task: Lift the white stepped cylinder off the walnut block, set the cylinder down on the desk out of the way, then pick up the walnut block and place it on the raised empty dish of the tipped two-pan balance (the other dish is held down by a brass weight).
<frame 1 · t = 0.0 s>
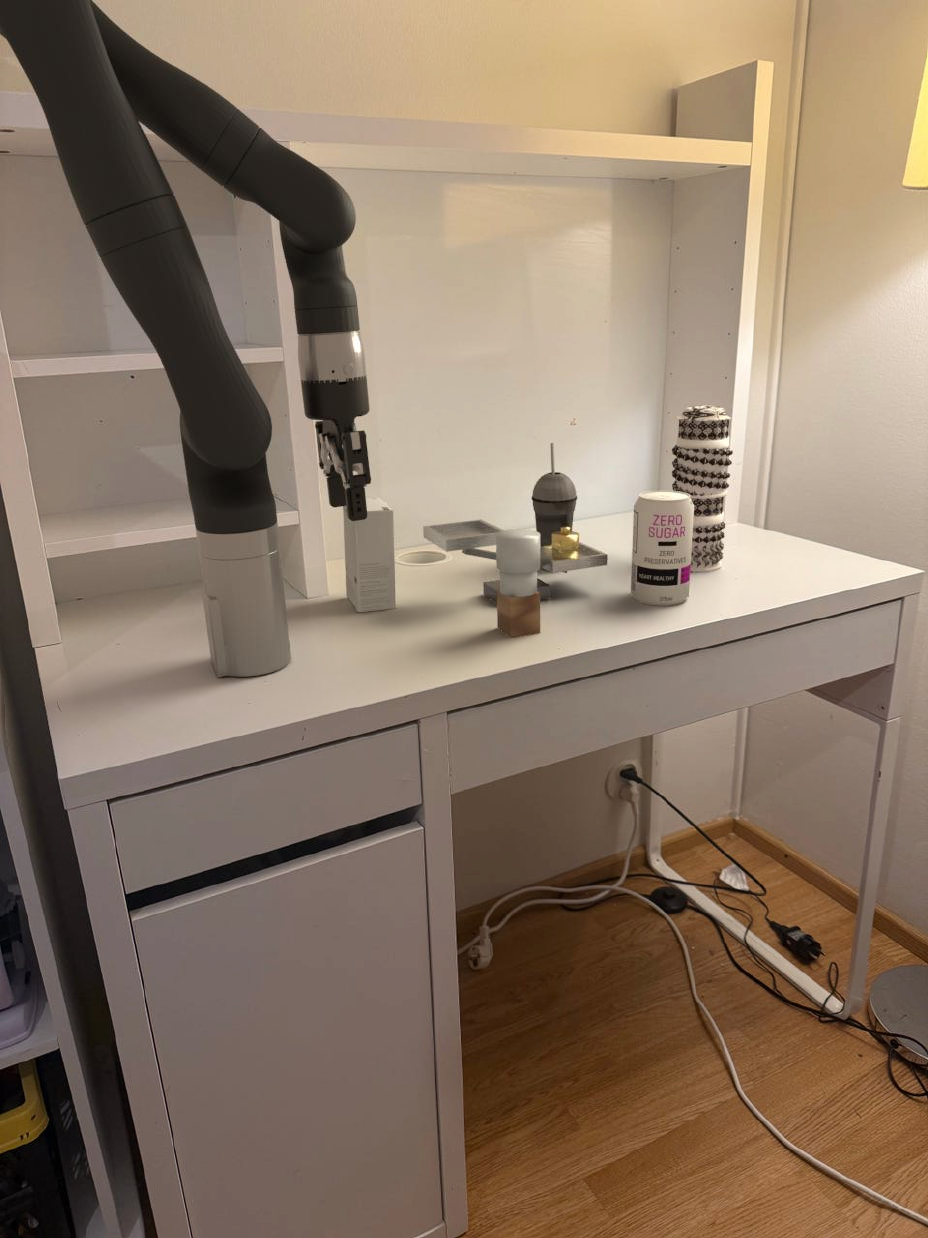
hand: (348, 512, 106), 17 cm above the table, tool pointing down, fingers open, 8 cm apart
white stepped cylinder: (518, 590, 114), point 5 cm above the table, touching walnut block
beverage cup: (553, 569, 143), on the table
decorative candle: (694, 565, 142), on the table
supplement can: (659, 599, 127), on the table
balance: (516, 596, 129), on the table
walnut block: (518, 630, 115), on the table, touching white stepped cylinder
skincare box: (372, 604, 128), on the table
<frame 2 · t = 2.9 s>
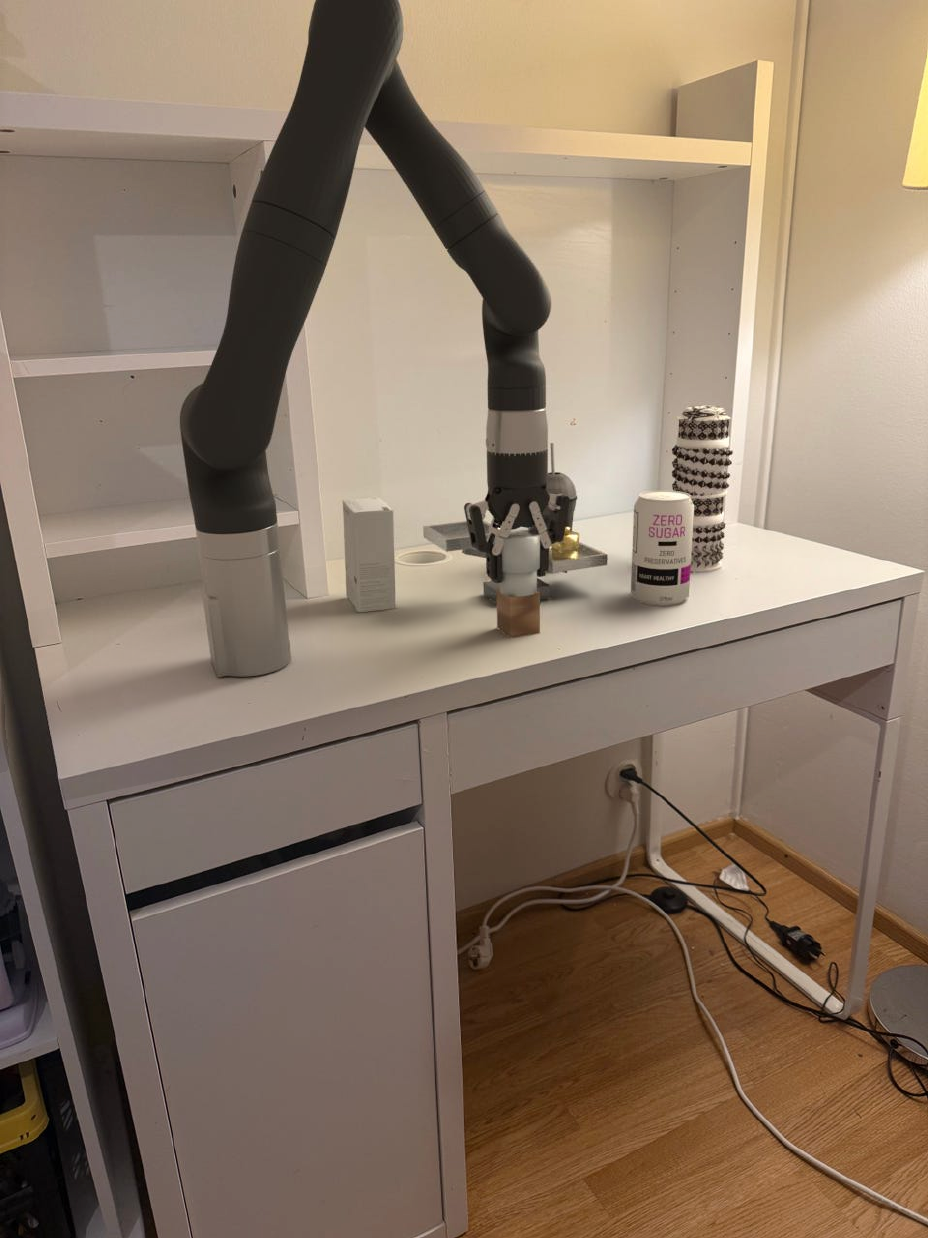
hand: (518, 577, 113), 7 cm above the table, tool pointing down, fingers closed on white stepped cylinder, 5 cm apart
white stepped cylinder: (518, 590, 114), point 5 cm above the table, touching gripper, walnut block
everything else where it was.
when the fingers open (3 cm above the table, at t = 7.9 s): white stepped cylinder drops 1 cm, on the table.
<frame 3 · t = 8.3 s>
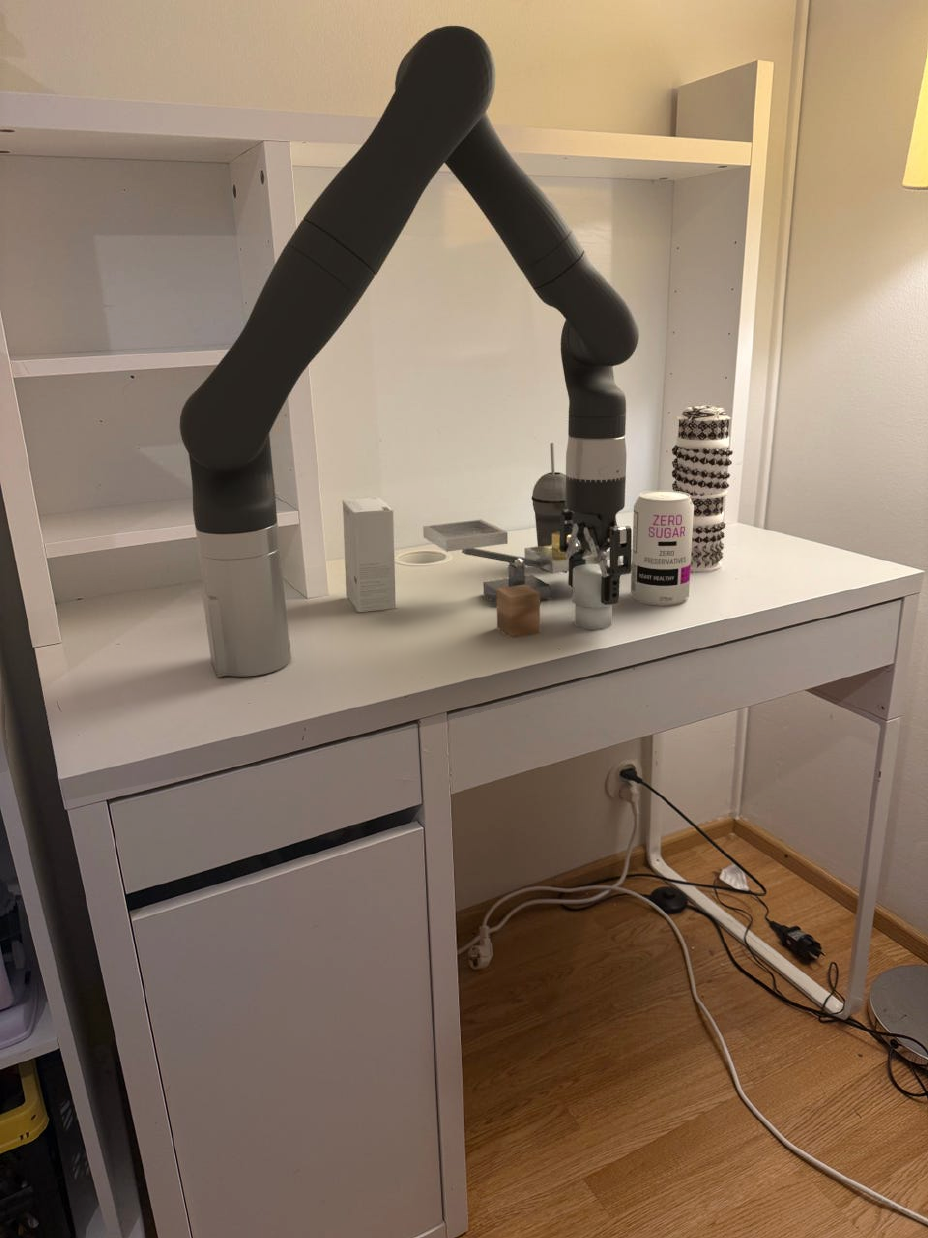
hand: (592, 594, 116), 4 cm above the table, tool pointing down, fingers open, 8 cm apart
white stepped cylinder: (593, 623, 117), on the table
walnut block: (518, 630, 116), on the table
everything else where it was.
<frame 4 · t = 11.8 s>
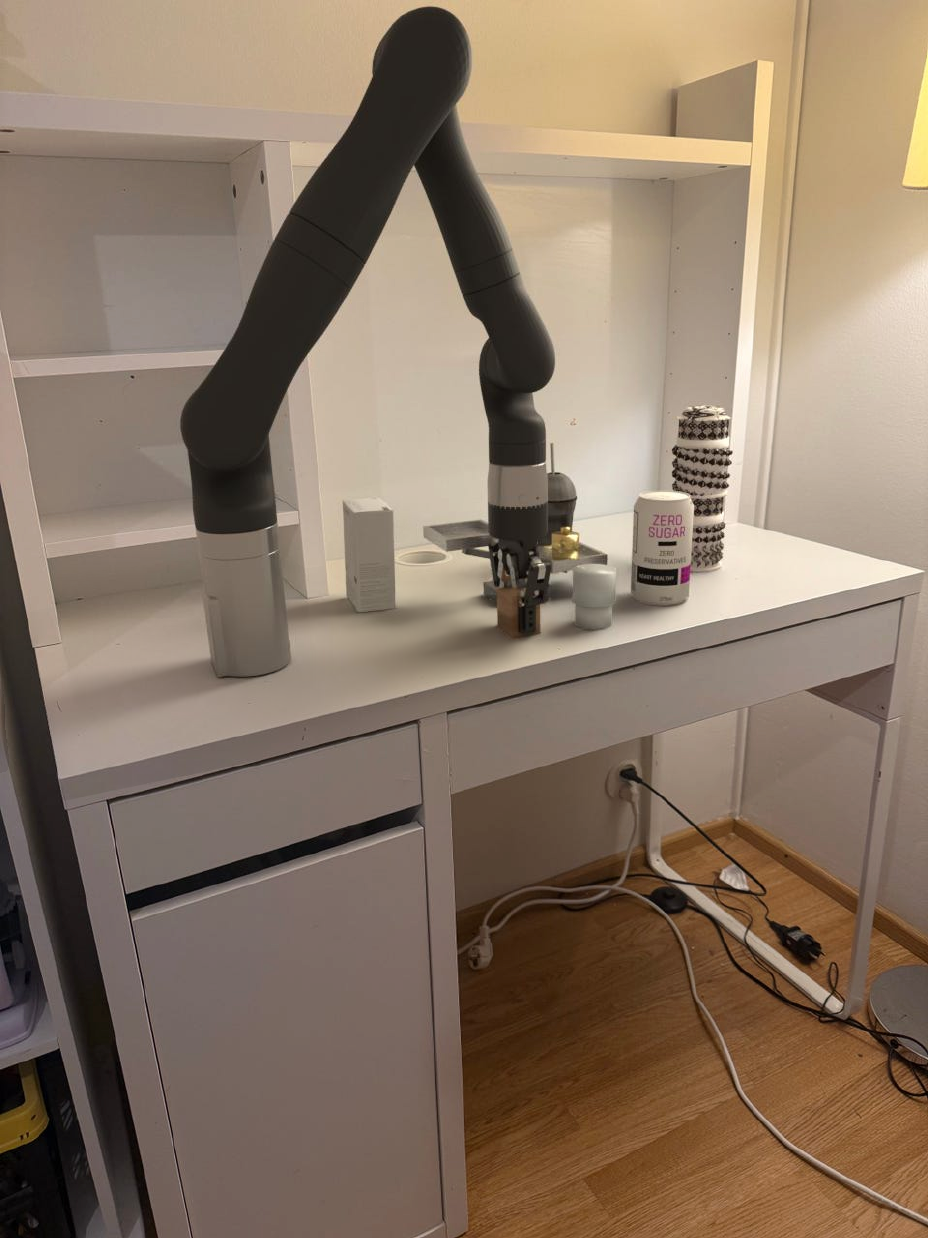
hand: (518, 626, 115), 1 cm above the table, tool pointing down, fingers closed on walnut block, 4 cm apart
walnut block: (518, 630, 115), on the table, touching gripper
everything else where it was.
when the fingers open (12 cm above the table, at t = 15.4 s): walnut block drops 1 cm, resting on balance.
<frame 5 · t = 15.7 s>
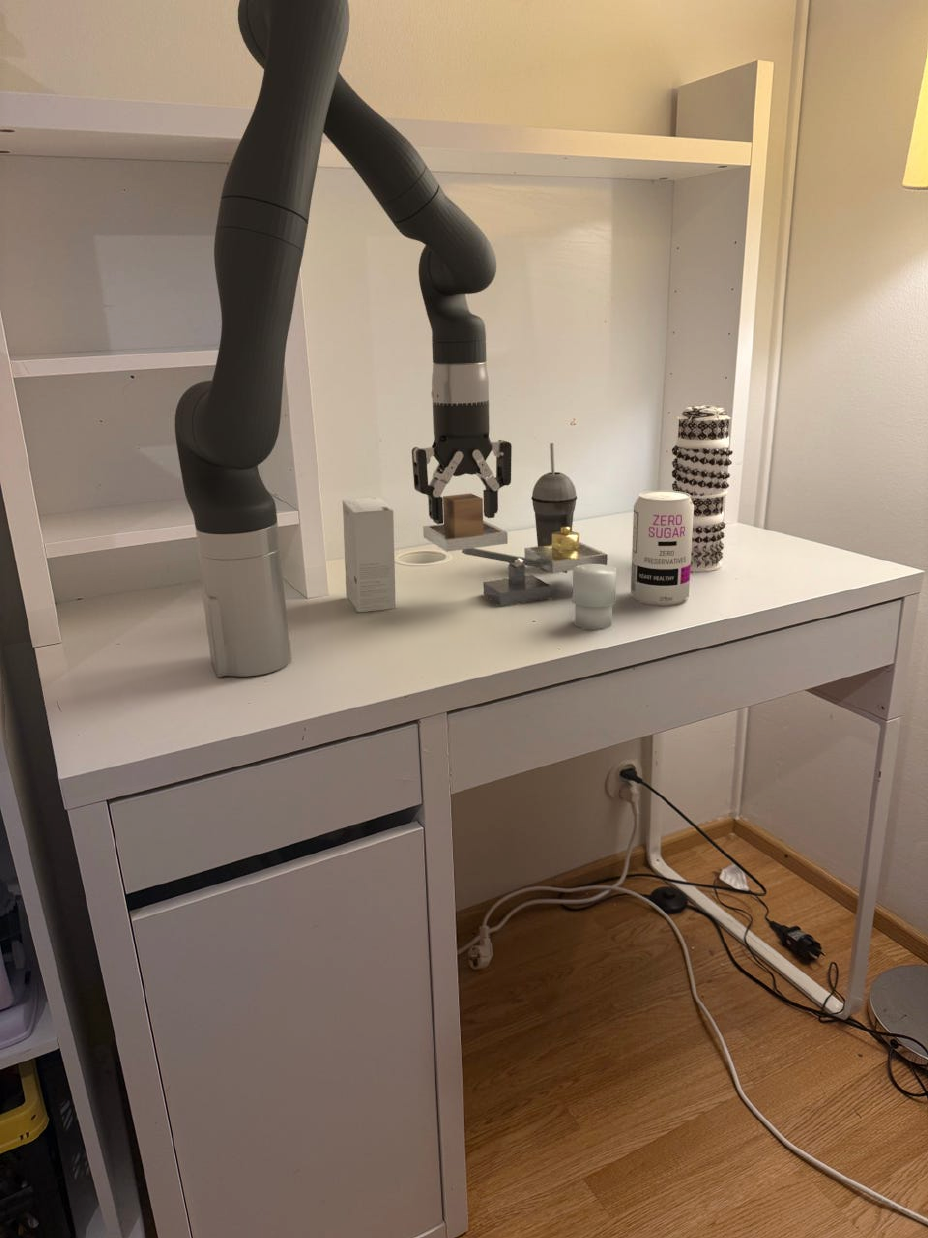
hand: (464, 519, 122), 12 cm above the table, tool pointing down, fingers open, 7 cm apart
walnut block: (463, 536, 123), point 10 cm above the table, touching balance
everything else where it was.
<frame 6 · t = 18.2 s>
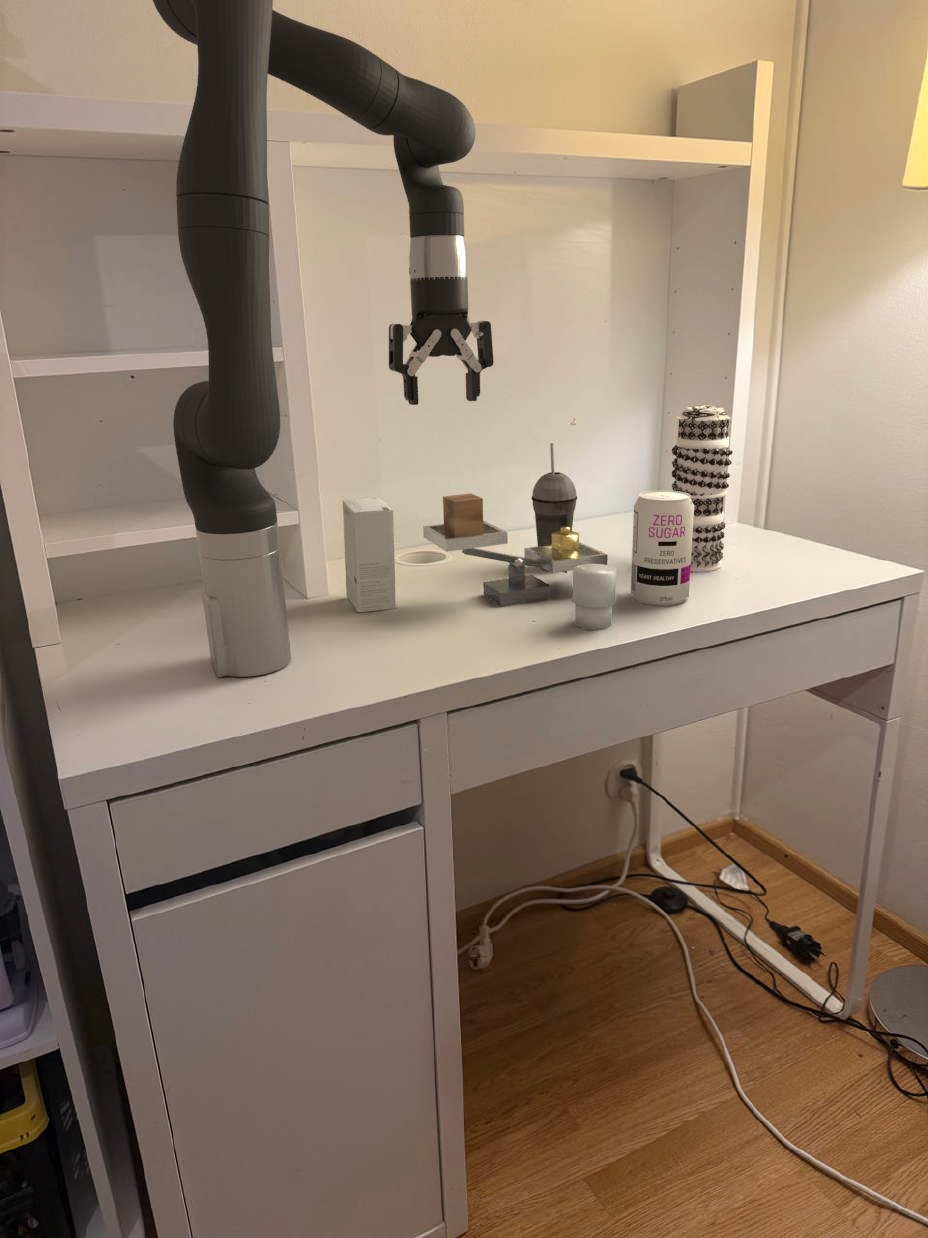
hand: (443, 402, 120), 28 cm above the table, tool pointing down, fingers open, 8 cm apart
nothing on the table moved.
at the end: walnut block inside the target area on the balance (0.1 cm from its centre), point 10.1 cm above the balance's base; walnut block tilted 0°; white stepped cylinder on the table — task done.
